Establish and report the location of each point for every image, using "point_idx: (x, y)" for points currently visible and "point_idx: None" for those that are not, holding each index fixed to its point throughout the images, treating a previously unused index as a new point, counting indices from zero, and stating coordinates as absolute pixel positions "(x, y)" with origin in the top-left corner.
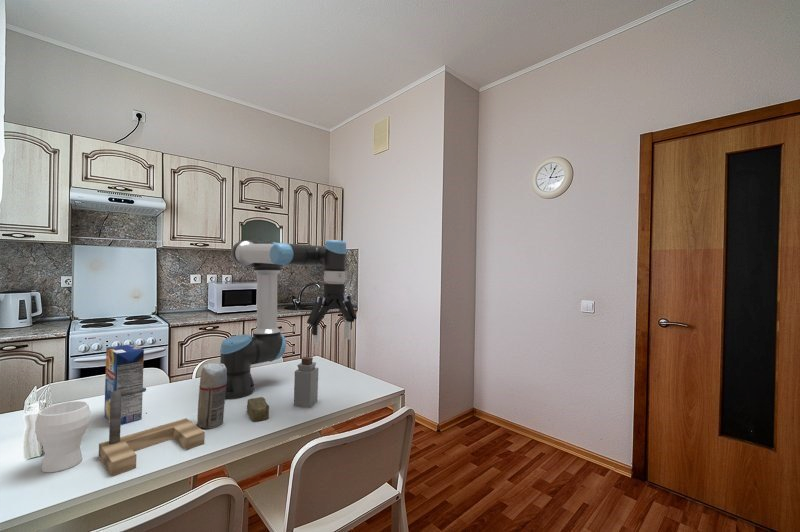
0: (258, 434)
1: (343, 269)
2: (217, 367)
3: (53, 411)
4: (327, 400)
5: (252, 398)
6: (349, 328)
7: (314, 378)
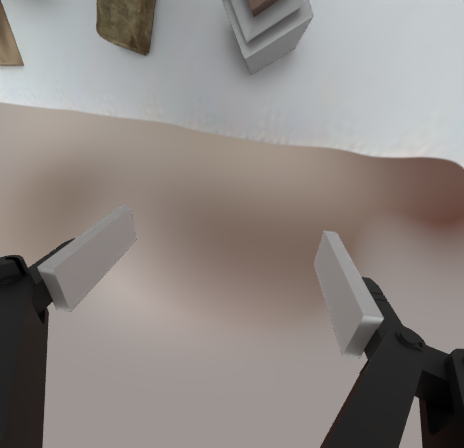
0: (111, 111)
1: None
2: None
3: None
4: (316, 67)
5: None
6: (332, 313)
7: (275, 47)
